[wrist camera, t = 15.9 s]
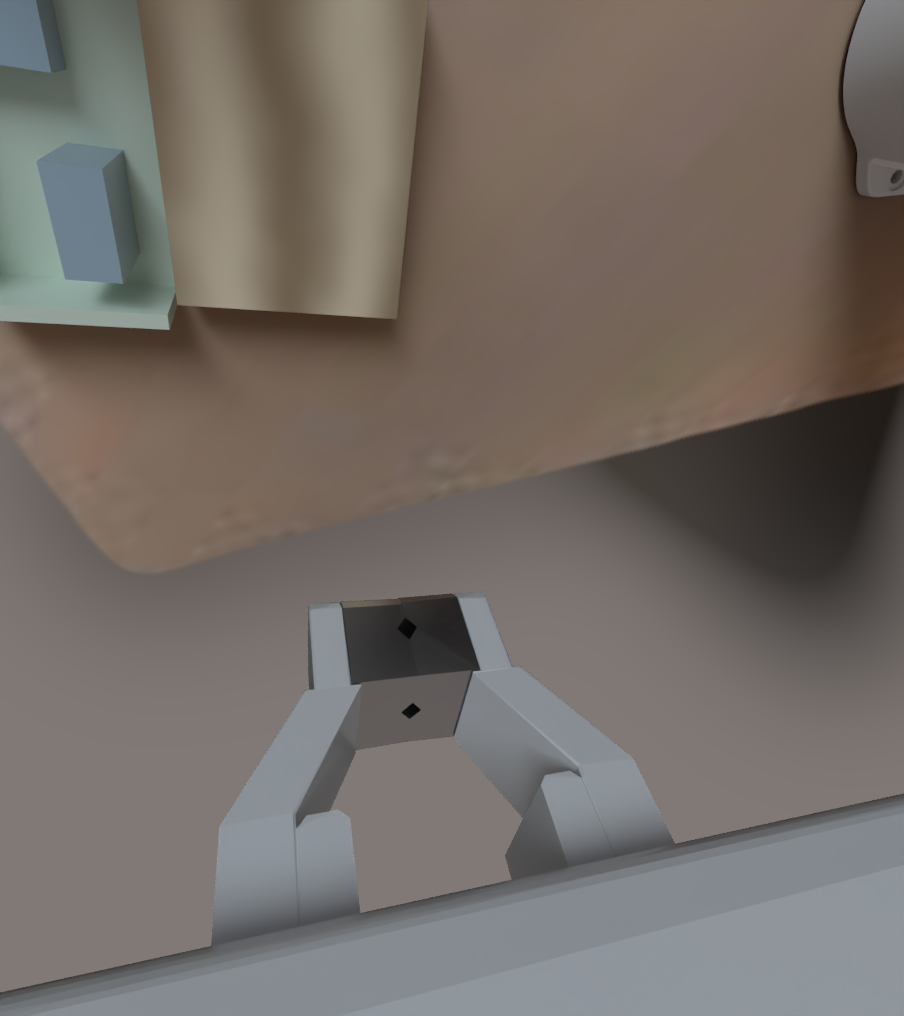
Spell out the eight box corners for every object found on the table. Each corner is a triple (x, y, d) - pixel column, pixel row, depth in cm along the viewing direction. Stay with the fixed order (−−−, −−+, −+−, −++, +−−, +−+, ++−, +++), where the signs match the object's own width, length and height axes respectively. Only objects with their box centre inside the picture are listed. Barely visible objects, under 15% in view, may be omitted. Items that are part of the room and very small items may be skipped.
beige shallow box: (415, -38, 28) (432, -45, 25) (386, 295, 38) (396, 319, 35) (138, -105, 25) (120, -122, 22) (185, 280, 34) (177, 305, 31)
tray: (123, -142, 24) (96, -171, 20) (180, 296, 35) (169, 329, 31) (-185, -220, 21) (-282, -271, 17) (-18, 283, 32) (-56, 318, 28)
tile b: (101, 168, 26) (36, 160, 25) (123, 283, 29) (65, 279, 28) (123, 149, 29) (66, 142, 29) (140, 253, 32) (89, 248, 32)
